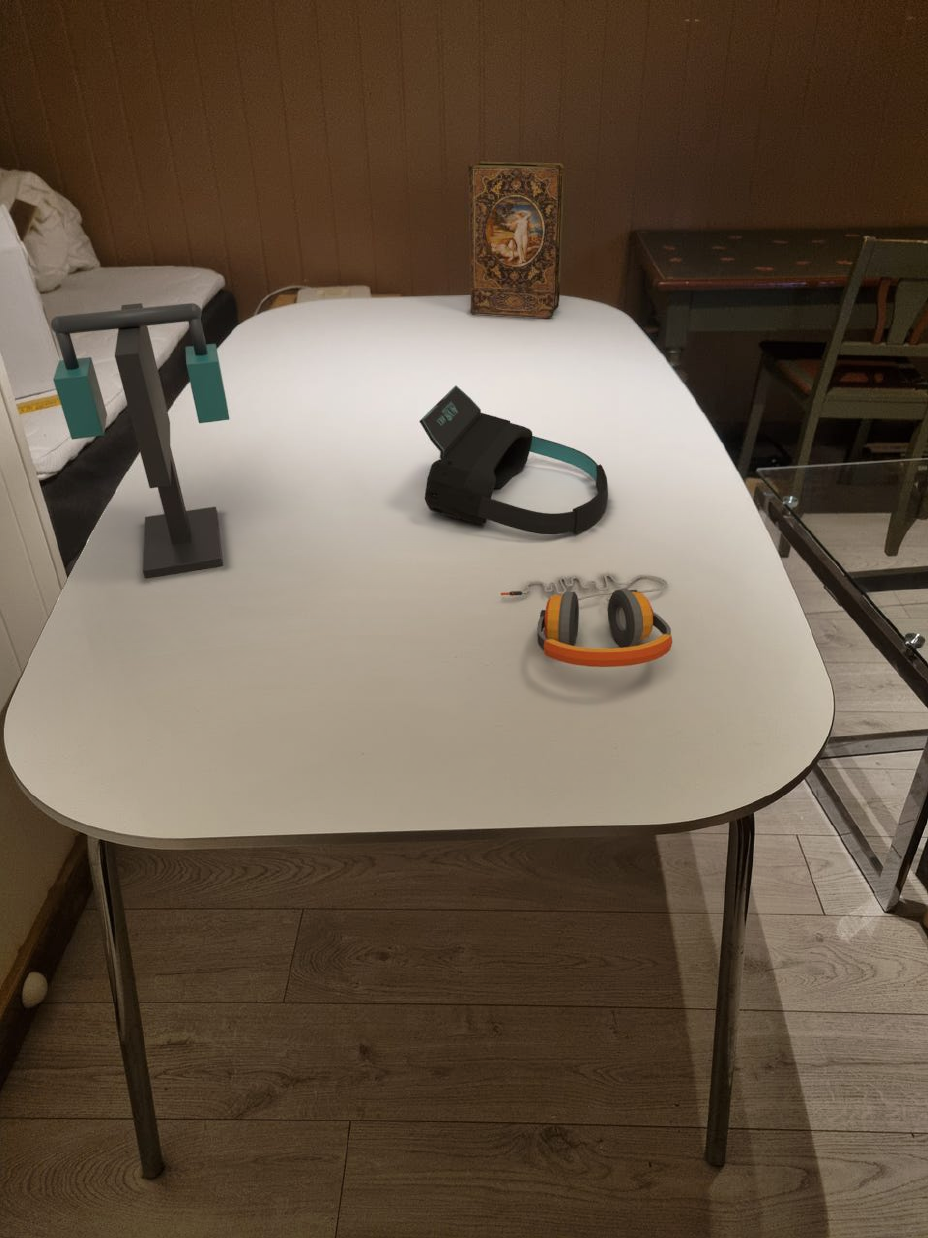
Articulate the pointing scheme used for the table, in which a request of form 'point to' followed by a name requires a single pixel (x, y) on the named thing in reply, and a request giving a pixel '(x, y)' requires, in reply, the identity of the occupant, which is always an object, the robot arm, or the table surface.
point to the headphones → (626, 623)
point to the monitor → (162, 466)
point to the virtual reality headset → (496, 469)
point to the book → (515, 238)
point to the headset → (81, 381)
